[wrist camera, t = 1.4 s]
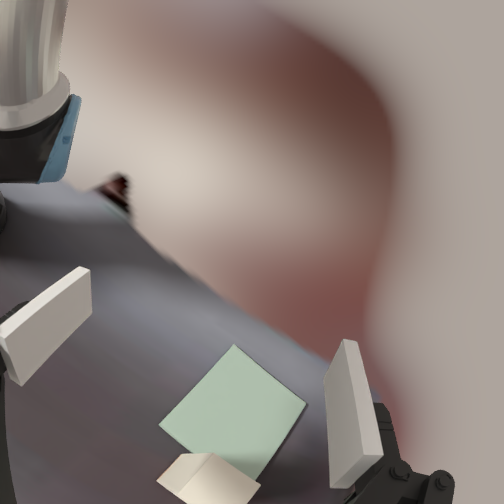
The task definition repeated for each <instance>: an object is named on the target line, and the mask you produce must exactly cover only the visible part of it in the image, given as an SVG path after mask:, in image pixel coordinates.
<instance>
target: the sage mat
mask: <svg viewBox="0 0 504 504" xmlns="http://www.w3.org/2000/svg"><path fill="white" fill-rule="evenodd" d="M305 405H306V403H305V402H304V401H302V400H301V399H300V398H299V397H297V396H296V395H295V394H293V393H292V392H291V391H290V390H288V389H287V388H286V387H285V386H283V385H282V384H281V383H280V382H278V381H277V380H276V379H275V378H273V377H272V376H271V375H270V374H269V373H267V372H266V371H265V370H264V369H263V368H261V367H260V366H259V365H258V364H257V363H255V362H254V361H253V360H252V359H251V358H249V357H248V356H247V355H246V354H245V353H244V352H242V351H241V350H240V349H239V348H238V347H237V346H235V345H233V346H232V347H231V348H230V349H229V350H228V351H227V352H226V354H225V355H224V356H223V357H222V358H221V359H220V360H219V361H218V362H217V363H216V365H215V366H214V367H213V368H212V369H211V370H210V371H209V372H208V373H207V374H206V375H205V376H204V378H203V379H202V380H201V381H200V382H199V383H198V384H197V385H196V386H195V387H194V388H193V389H192V390H191V391H190V393H189V394H188V395H187V396H186V397H185V398H184V399H183V400H182V401H181V402H180V403H179V404H178V405H177V406H176V407H175V408H174V409H173V410H172V411H171V412H170V413H169V414H168V415H167V417H166V418H165V419H164V420H163V421H162V422H161V423H160V424H159V426H160V427H161V428H162V429H164V430H165V431H166V432H167V433H168V434H169V435H171V436H172V437H173V438H174V439H175V440H177V441H178V442H179V443H180V444H181V445H183V446H184V447H185V448H186V449H188V450H189V451H190V452H191V453H193V454H196V453H215V454H217V455H218V456H219V457H221V458H222V459H223V460H225V461H226V462H228V463H229V464H230V465H232V466H233V467H235V468H236V469H238V470H239V471H241V472H242V473H244V474H245V475H247V476H248V477H250V478H251V479H253V480H254V481H255V480H256V479H257V477H258V476H259V474H260V473H261V472H262V470H263V469H264V468H265V466H266V465H267V463H268V462H269V460H270V459H271V458H272V456H273V455H274V453H275V452H276V450H277V449H278V447H279V446H280V444H281V443H282V441H283V440H284V438H285V437H286V435H287V434H288V432H289V431H290V429H291V428H292V426H293V424H294V423H295V421H296V420H297V418H298V416H299V415H300V413H301V411H302V410H303V408H304V407H305Z"/></svg>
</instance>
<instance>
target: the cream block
mask: <svg viewBox="0 0 504 504" xmlns="http://www.w3.org/2000/svg"><path fill="white" fill-rule="evenodd" d="M156 481H157V482H158V483H160V484H161V485H162V486H164V487H165V488H166V489H168V490H169V491H170V492H172V493H173V494H174V495H176V496H177V497H179V498H180V499H181V500H183V501H184V502H186V503H187V504H247V503H248V502H249V500H250V499H251V498H252V497H253V495H254V494H255V493H256V491H257V490H258V489H259V487H260V486H261V484H259V483H257V482H256V481H254V480H253V479H251V478H250V477H248V476H247V475H245V474H244V473H242V472H241V471H239V470H238V469H236V468H235V467H233V466H232V465H230V464H229V463H228V462H226V461H225V460H223V459H222V458H221V457H219V456H218V455H217V454H215V453H196V454H181V455H180V456H179V457H178V458H177V459H176V460H175V461H174V463H173V464H172V465H171V466H170V467H169V468H168V469H167V470H166V471H165V472H164V473H163V474H162V475H161V476H160V477H159V478H158V479H157V480H156Z"/></svg>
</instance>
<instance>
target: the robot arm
mask: <svg viewBox="0 0 504 504" xmlns="http://www.w3.org/2000/svg"><path fill="white" fill-rule="evenodd" d="M67 5H68V0H0V183H35V184H40V183H44V182H57V181H59V180H60V179H61V178H62V177H63V176H64V174H65V172H66V168H67V163H68V159H69V154H70V150H71V145H72V140H73V136H74V131H75V127H76V123H77V119H78V115H79V111H80V106H81V97H79V96H76V95H74V94H71V95H69V92H70V83H69V80H68V79H67V77H66V76H65V75H64V74H63V73H62V72H60V71H59V61H60V51H61V42H62V34H63V28H64V22H65V16H66V10H67ZM6 216H7V211H6V206H5V201H4V197H3V195H2V193H1V191H0V233H1V231H2V229H3V227H4V225H5V222H6ZM91 314H92V300H91V279H90V270H89V269H86V268H83V267H80V266H79V267H77V268H76V269H74V270H73V271H72V272H70V273H69V274H67V275H66V276H64V277H63V278H62V279H60V280H59V281H57V282H56V283H55V284H53V285H52V286H51V287H49V288H48V289H46V290H45V291H44V292H42V293H41V294H40V295H38V296H37V297H36V298H34V299H33V300H32V301H30V302H29V301H26V302H23V303H21V304H18V305H17V306H16V307H14V308H13V309H12V310H11V311H9V312H8V313H6V315H4V316H3V317H1V318H0V504H17V502H16V498H15V493H14V488H13V483H12V477H11V471H10V465H9V457H8V449H7V439H6V426H5V397H4V391H5V378H4V375H3V373H4V372H5V371H6V370H7V371H8V374H9V376H10V379H11V380H13V381H14V382H16V383H17V384H19V385H20V386H21V387H22V386H23V385H24V384H25V382H26V381H27V380H28V379H29V378H30V377H31V376H32V375H33V374H34V373H35V371H36V370H37V369H38V368H39V367H40V366H41V365H42V364H43V363H44V362H45V361H46V360H47V359H48V358H49V357H50V355H51V354H52V353H53V352H54V351H55V350H56V349H57V348H58V347H59V346H60V345H61V344H62V343H63V342H64V341H65V340H66V339H67V338H68V337H69V336H70V335H71V334H72V333H73V332H74V331H75V330H76V329H77V328H78V327H79V326H80V325H81V324H82V323H83V322H84V321H85V320H86V319H87V318H88V317H89V316H90V315H91ZM323 381H324V392H325V404H326V418H327V433H328V451H329V474H330V488H349V487H350V486H351V485H352V484H353V483H355V491H354V492H353V493H352V494H350V495H349V496H348V497H347V498H345V499H344V500H345V502H344V503H343V504H452V500H453V494H454V487H455V482H454V479H453V477H452V476H451V475H450V474H449V473H448V472H446V471H444V470H437V471H435V472H434V473H433V474H431V475H430V476H428V475H424V474H420V473H416V472H413V471H412V469H411V467H410V465H408V464H407V463H406V462H405V461H403V460H401V458H400V454H399V449H398V445H397V441H396V437H395V432H394V431H393V430H394V428H393V425H392V424H391V423H392V421H391V417H390V413H389V411H388V410H387V408H386V407H385V406H384V404H383V403H373V402H372V398H371V394H370V389H369V385H368V381H367V378H366V373H365V369H364V365H363V362H362V358H361V354H360V350H359V347H358V343H357V341H352V340H347V339H342V342H341V344H340V346H339V348H338V350H337V352H336V354H335V356H334V358H333V360H332V362H331V364H330V366H329V368H328V370H327V372H326V374H325V376H324V378H323Z"/></svg>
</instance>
